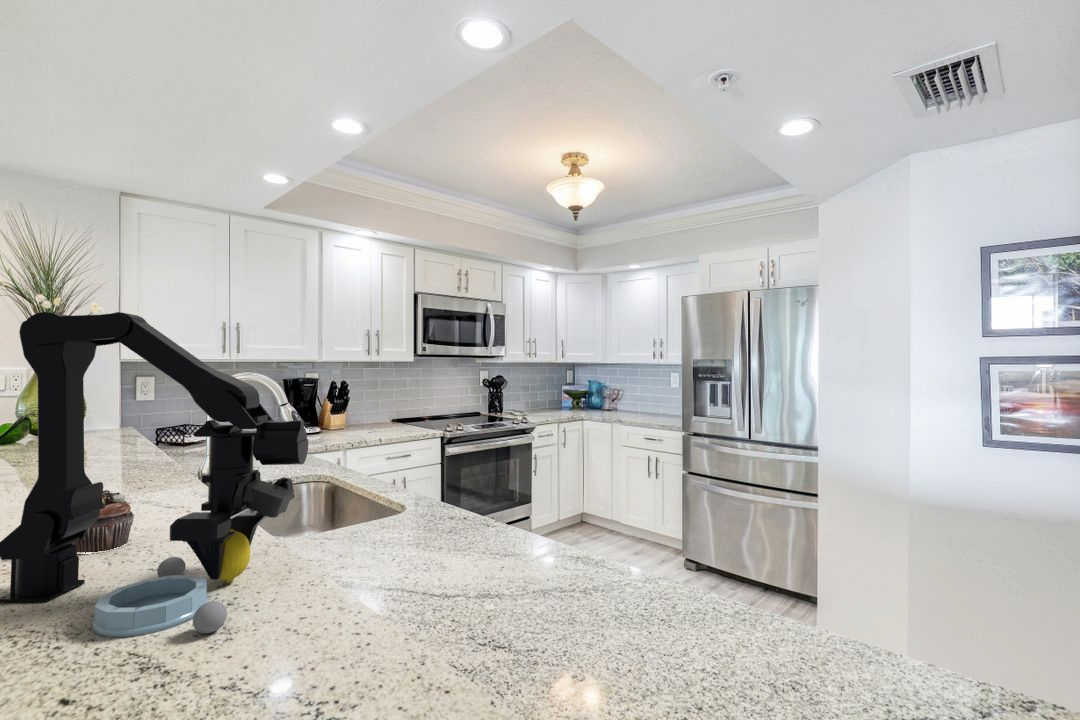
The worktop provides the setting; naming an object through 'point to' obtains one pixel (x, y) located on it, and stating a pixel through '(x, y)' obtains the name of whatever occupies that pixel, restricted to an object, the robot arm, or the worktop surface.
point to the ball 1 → (171, 567)
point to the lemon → (235, 556)
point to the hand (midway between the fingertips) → (228, 570)
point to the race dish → (149, 605)
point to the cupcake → (108, 525)
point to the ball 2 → (209, 617)
